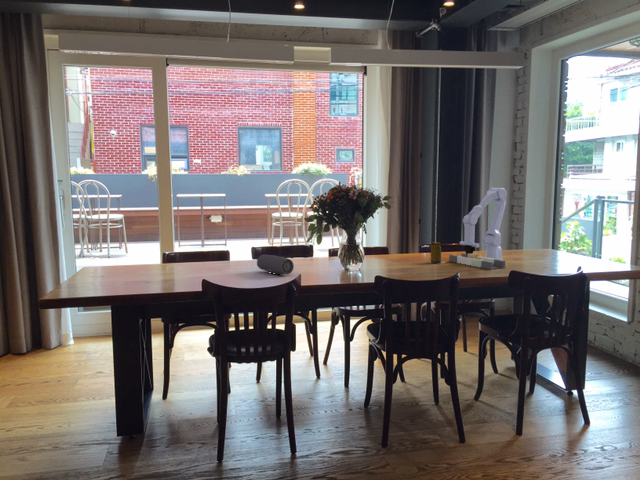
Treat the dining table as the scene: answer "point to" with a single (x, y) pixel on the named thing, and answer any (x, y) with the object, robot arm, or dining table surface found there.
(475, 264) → the trap box
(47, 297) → the dining table surface
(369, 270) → the dining table surface
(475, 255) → the maple block
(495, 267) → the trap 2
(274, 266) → the bluetooth speaker
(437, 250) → the condiment
